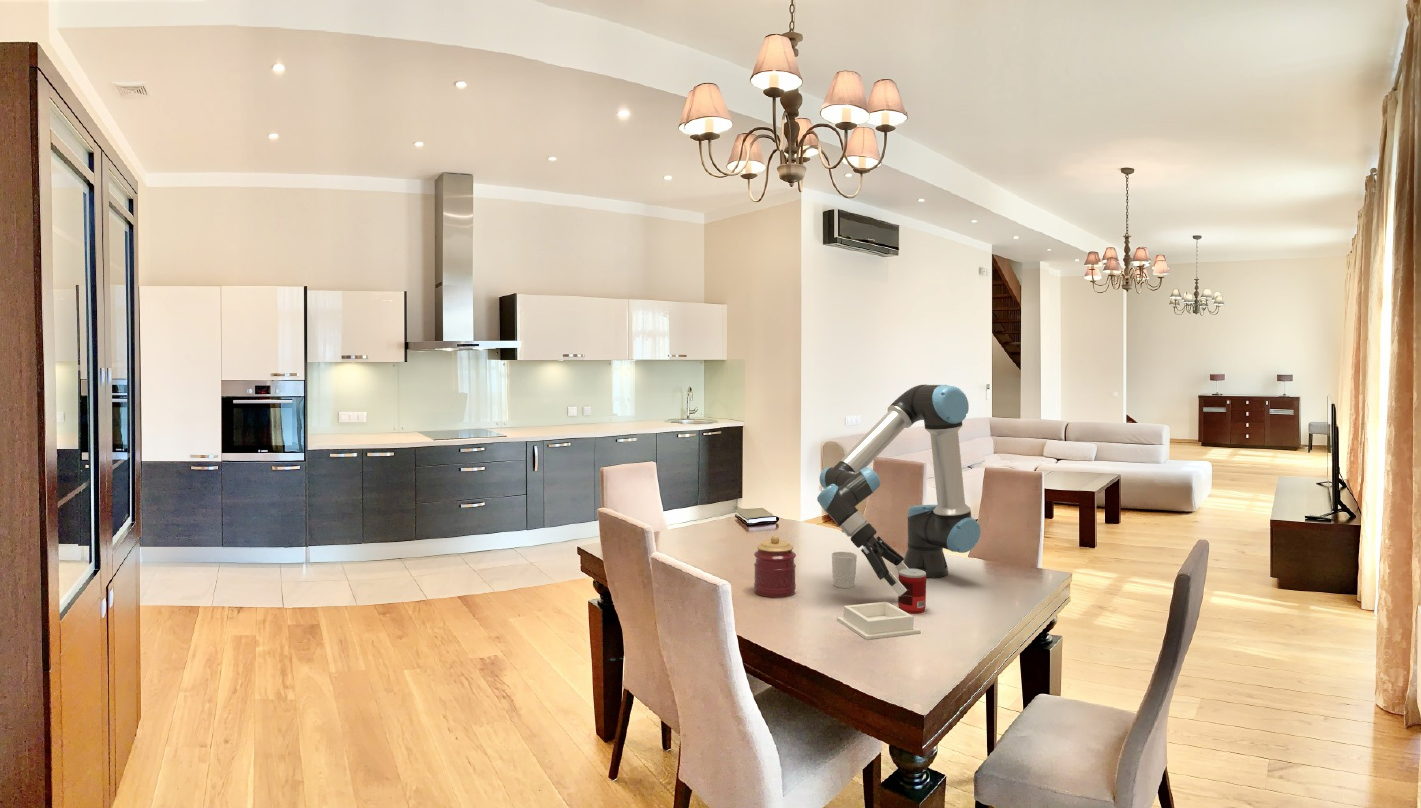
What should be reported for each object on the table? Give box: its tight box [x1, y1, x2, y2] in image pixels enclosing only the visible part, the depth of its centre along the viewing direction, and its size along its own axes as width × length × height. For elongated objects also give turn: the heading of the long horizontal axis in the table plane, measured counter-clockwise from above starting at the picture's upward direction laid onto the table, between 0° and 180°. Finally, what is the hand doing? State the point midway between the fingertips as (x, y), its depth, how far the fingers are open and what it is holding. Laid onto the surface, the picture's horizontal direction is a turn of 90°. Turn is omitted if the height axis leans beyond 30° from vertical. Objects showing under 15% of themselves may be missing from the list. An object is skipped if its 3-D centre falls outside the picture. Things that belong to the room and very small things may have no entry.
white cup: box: [831, 551, 858, 589], centre depth 244 cm, size 8×8×10 cm
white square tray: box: [836, 601, 921, 640], centre depth 205 cm, size 16×16×4 cm
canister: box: [753, 535, 797, 598], centre depth 236 cm, size 13×13×18 cm
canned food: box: [897, 569, 927, 615], centre depth 219 cm, size 8×8×11 cm
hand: (908, 587), depth 219 cm, fingers open, 13 cm apart
